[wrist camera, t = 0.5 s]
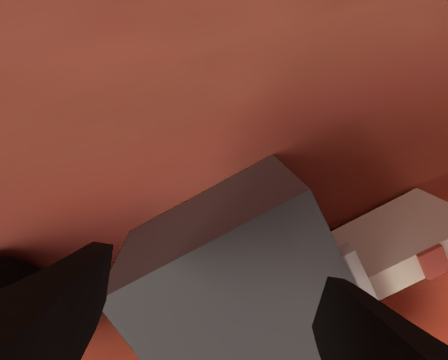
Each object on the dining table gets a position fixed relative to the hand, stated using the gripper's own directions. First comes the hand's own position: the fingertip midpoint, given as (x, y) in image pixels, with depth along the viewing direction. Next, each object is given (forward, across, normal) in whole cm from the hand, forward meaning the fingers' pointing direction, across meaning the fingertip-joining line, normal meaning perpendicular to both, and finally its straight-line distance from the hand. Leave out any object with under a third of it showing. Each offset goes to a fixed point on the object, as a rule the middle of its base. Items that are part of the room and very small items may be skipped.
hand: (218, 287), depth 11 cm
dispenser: (+10, -4, +5) cm, 12 cm away
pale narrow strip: (+10, -8, +2) cm, 13 cm away
